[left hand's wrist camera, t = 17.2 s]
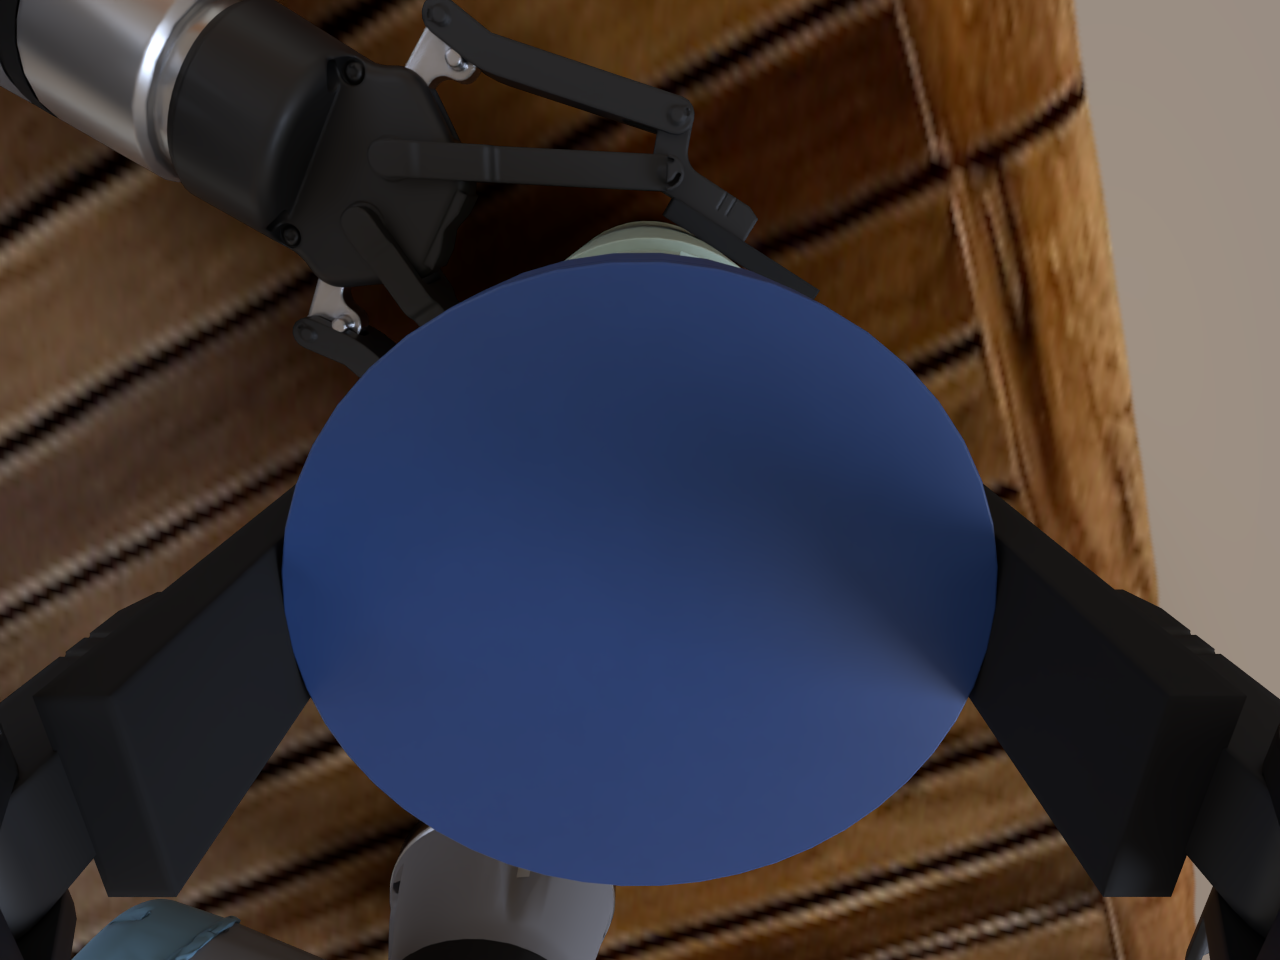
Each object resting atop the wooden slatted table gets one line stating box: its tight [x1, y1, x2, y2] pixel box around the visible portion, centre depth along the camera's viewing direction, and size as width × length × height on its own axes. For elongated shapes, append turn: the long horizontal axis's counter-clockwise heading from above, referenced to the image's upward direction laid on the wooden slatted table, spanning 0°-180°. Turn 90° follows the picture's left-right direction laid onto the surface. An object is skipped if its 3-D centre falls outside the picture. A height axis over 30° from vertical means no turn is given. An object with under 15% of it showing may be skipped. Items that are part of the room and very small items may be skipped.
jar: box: [566, 221, 740, 268], centre depth 27 cm, size 9×9×16 cm
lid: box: [281, 253, 998, 886], centre depth 11 cm, size 10×10×2 cm
